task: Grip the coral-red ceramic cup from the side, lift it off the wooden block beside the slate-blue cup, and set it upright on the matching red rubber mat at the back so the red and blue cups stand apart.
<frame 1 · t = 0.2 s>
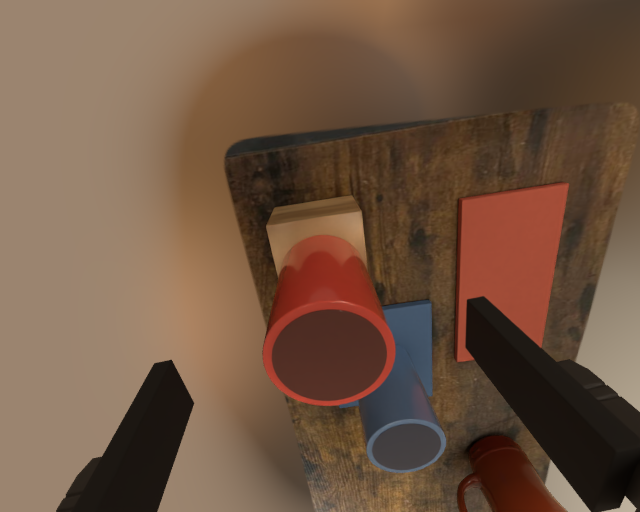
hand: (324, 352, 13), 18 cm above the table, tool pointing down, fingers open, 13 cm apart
blue mat: (380, 355, 37), on the table
red cup: (322, 274, 25), point 6 cm above the table, touching wooden block
blue cup: (382, 366, 36), point 1 cm above the table, touching blue mat
wooden block: (320, 248, 31), on the table
red mat: (501, 280, 33), on the table
mug: (478, 448, 44), on the table
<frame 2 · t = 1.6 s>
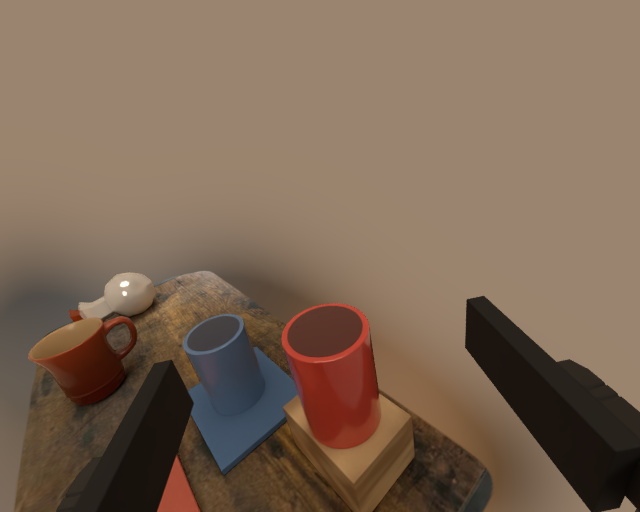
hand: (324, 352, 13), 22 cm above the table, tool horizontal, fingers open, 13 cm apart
potion bottle: (126, 319, 65), on the table
blue mat: (244, 399, 40), on the table
red cup: (343, 411, 29), point 6 cm above the table, touching wooden block
blue cup: (238, 391, 40), point 1 cm above the table, touching blue mat
wooden block: (351, 450, 31), on the table
mug: (114, 382, 48), on the table
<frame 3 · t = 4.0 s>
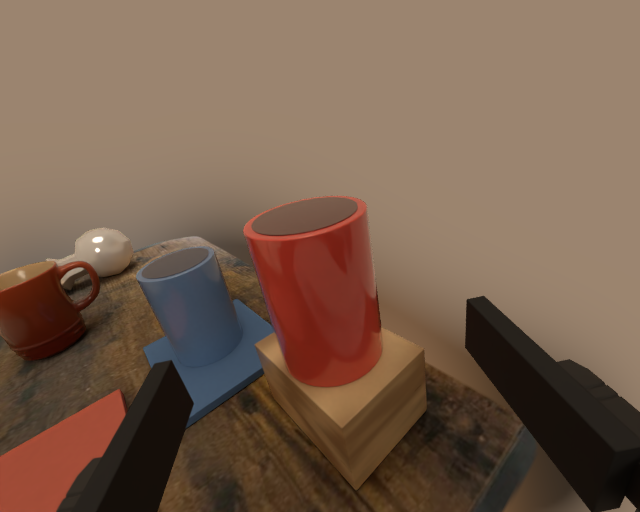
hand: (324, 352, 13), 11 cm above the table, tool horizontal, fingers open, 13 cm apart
potion bottle: (100, 280, 59), on the table
blue mat: (216, 351, 33), on the table
red cup: (332, 346, 22), point 6 cm above the table, touching wooden block
blue cup: (210, 342, 33), point 1 cm above the table, touching blue mat
wooden block: (344, 403, 24), on the table
mug: (73, 338, 41), on the table
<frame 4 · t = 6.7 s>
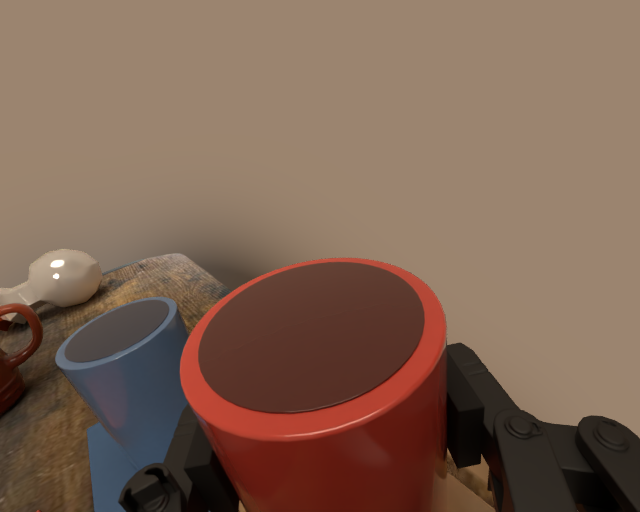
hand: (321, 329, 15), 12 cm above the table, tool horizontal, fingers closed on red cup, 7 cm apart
potion bottle: (61, 310, 49), on the table
blue mat: (184, 440, 24), on the table
red cup: (355, 504, 13), point 6 cm above the table, touching wooden block, gripper
blue cup: (177, 425, 24), point 1 cm above the table, touching blue mat
mug: (7, 401, 32), on the table
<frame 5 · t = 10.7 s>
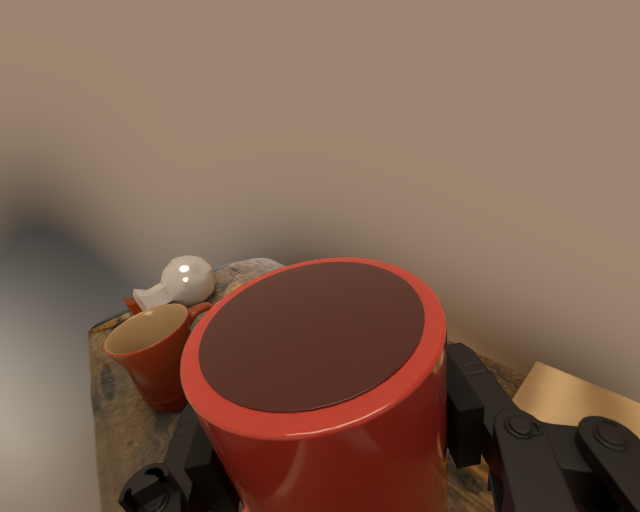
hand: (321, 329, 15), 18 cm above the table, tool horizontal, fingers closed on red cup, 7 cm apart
potion bottle: (183, 309, 56), on the table
red cup: (355, 504, 13), point 13 cm above the table, touching gripper
wooden block: (587, 483, 22), on the table
mug: (195, 383, 39), on the table
when the fingers open (6 cm above the table, at t = 14.7 s): red cup stays where it is, resting on red mat.
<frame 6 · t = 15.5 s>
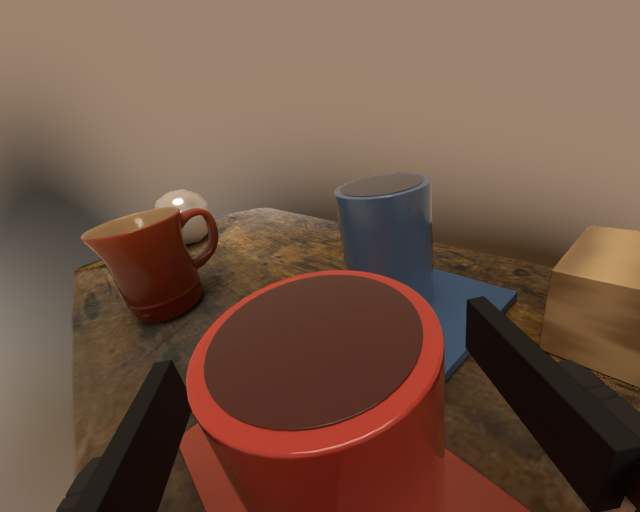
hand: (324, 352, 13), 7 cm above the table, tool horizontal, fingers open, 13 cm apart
potion bottle: (178, 249, 52), on the table
blue mat: (400, 305, 27), on the table
red cup: (355, 511, 13), point 1 cm above the table, touching red mat
blue cup: (390, 294, 27), point 1 cm above the table, touching blue mat
mug: (187, 301, 35), on the table
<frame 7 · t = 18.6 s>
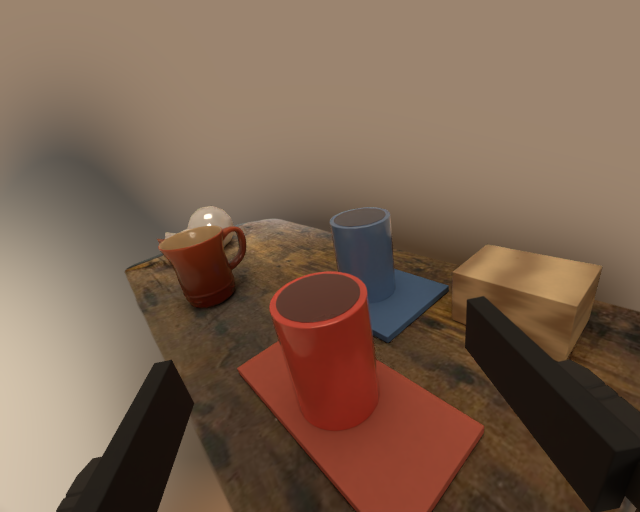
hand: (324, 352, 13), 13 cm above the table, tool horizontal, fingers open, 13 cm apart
potion bottle: (206, 253, 65), on the table
blue mat: (374, 295, 40), on the table
red cup: (337, 391, 26), point 1 cm above the table, touching red mat
blue cup: (368, 287, 40), point 1 cm above the table, touching blue mat
wooden block: (516, 319, 31), on the table
red mat: (339, 398, 26), on the table
mug: (223, 293, 48), on the table
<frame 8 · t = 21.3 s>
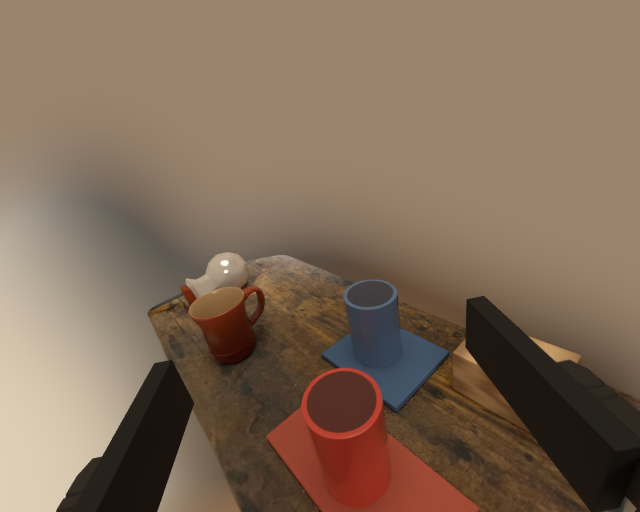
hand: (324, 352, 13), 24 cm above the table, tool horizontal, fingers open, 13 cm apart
potion bottle: (223, 296, 70), on the table
blue mat: (382, 356, 44), on the table
red cup: (355, 466, 31), point 1 cm above the table, touching red mat
blue cup: (377, 349, 45), point 1 cm above the table, touching blue mat
wooden block: (509, 391, 36), on the table
red mat: (357, 470, 31), on the table
mug: (244, 346, 52), on the table
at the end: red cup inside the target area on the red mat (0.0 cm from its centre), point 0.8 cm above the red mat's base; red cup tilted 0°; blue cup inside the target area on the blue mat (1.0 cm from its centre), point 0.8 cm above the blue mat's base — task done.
